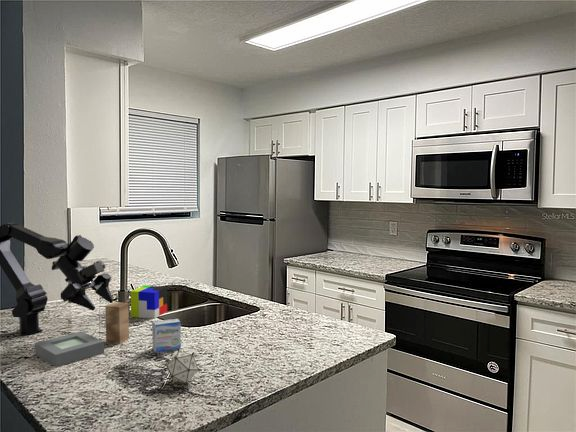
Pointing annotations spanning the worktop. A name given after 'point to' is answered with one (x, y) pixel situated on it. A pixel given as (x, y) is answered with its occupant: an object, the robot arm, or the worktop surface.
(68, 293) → the robot arm
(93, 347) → the base plate
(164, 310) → the puzzle toy
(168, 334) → the medicine box
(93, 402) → the worktop surface
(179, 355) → the game die
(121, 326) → the post
